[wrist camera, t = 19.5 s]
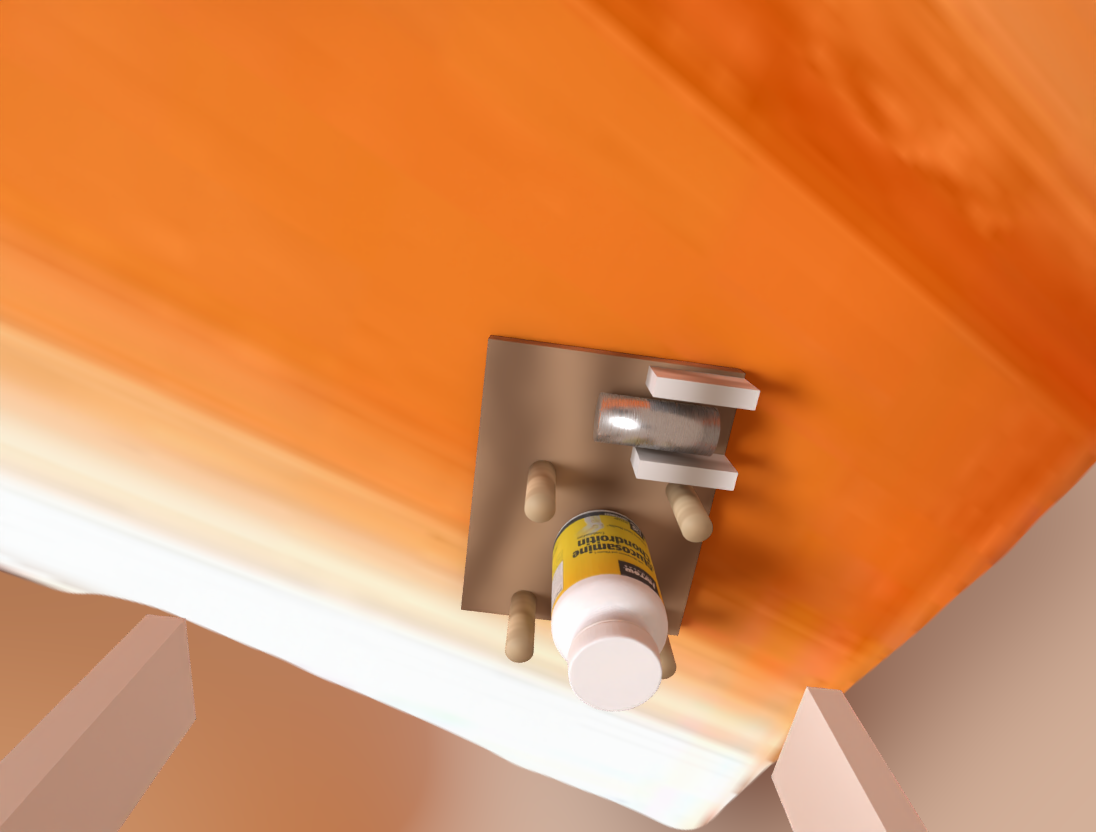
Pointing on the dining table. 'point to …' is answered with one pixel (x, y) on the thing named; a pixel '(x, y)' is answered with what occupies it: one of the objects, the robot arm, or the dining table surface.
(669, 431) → the pin
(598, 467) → the board
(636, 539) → the pill bottle
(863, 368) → the dining table surface
